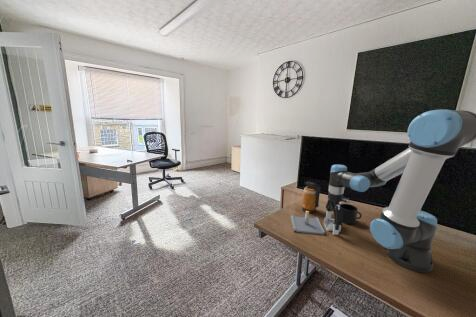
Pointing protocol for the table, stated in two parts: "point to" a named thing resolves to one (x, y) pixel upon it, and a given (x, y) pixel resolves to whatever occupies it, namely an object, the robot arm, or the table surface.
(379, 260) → the table surface
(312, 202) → the canister
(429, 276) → the table surface
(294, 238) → the table surface
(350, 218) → the mug
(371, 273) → the table surface
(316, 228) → the keeper plate
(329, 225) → the square frame
